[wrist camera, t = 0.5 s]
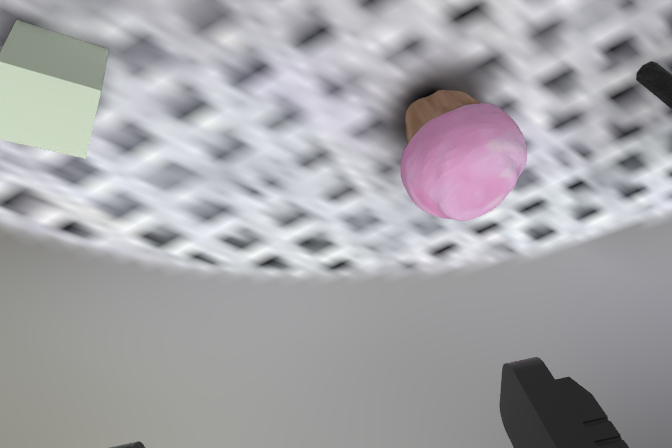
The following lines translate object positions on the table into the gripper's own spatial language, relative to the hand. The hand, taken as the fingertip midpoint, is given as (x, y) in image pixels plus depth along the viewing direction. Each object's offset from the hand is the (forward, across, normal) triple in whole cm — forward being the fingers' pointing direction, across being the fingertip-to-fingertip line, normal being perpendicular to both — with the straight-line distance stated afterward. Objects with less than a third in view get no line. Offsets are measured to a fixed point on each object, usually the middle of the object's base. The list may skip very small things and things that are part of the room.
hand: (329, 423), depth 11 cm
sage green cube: (+28, +13, -2) cm, 31 cm away
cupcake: (+31, -12, +6) cm, 34 cm away
